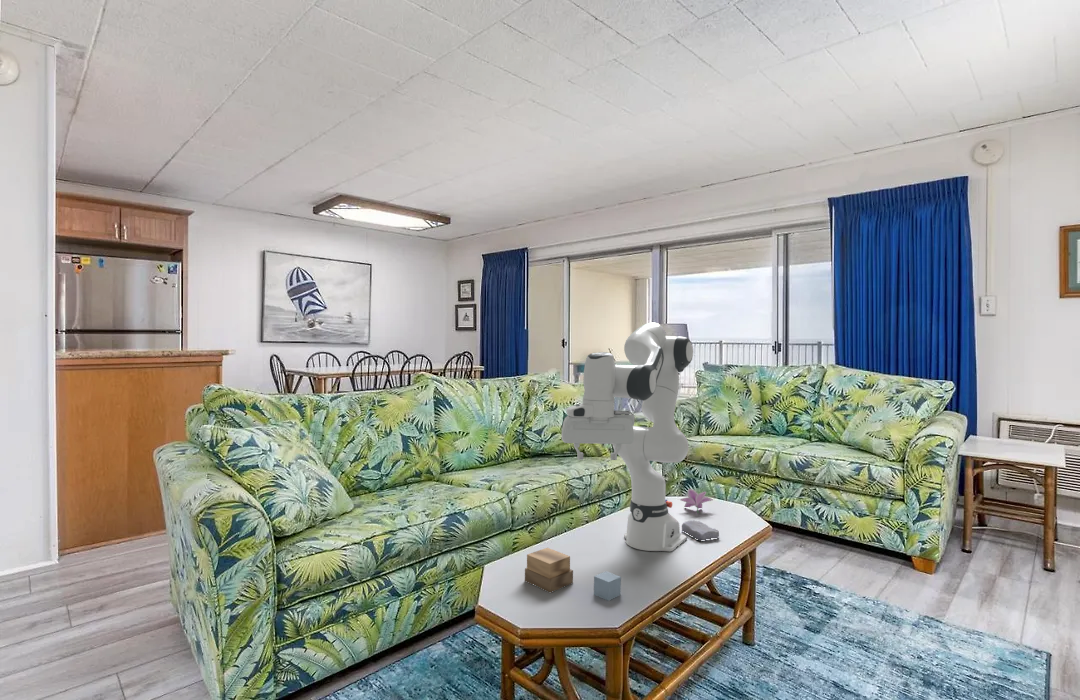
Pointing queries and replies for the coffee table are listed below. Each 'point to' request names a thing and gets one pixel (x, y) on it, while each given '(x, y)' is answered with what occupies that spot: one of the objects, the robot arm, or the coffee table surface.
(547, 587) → the walnut block
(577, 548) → the coffee table surface
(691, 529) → the stone block
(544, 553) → the teak block
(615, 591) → the slate cube
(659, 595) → the coffee table surface
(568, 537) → the coffee table surface
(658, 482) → the robot arm
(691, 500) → the lily
